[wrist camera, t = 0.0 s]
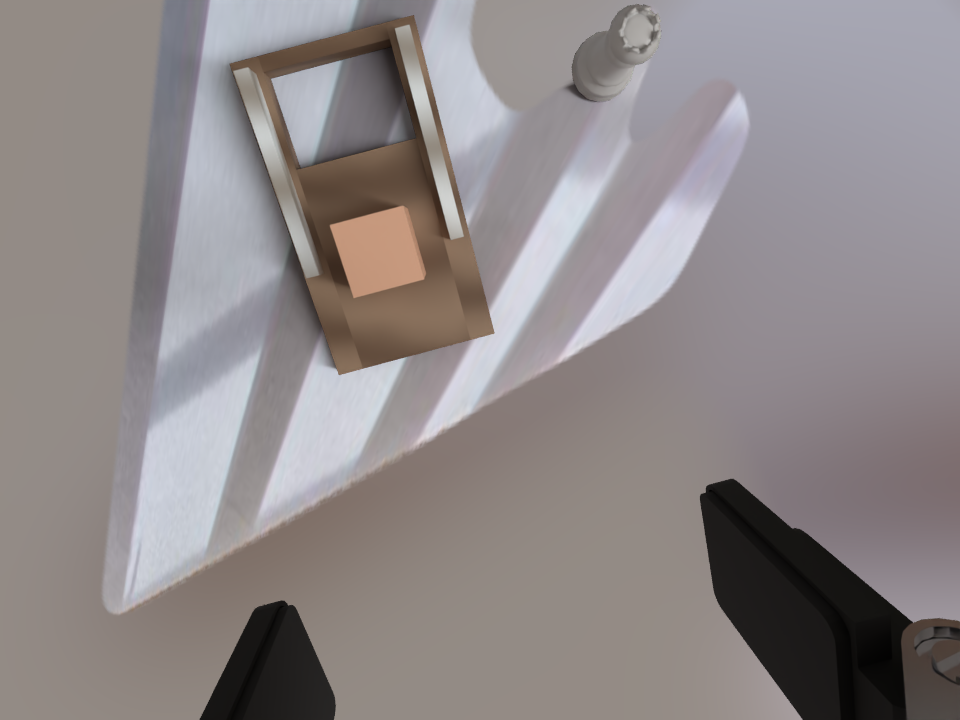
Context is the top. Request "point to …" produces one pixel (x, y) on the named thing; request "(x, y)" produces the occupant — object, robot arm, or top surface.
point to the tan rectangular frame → (372, 208)
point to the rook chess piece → (616, 53)
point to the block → (379, 251)
